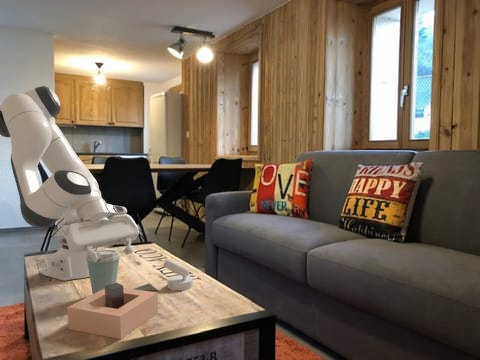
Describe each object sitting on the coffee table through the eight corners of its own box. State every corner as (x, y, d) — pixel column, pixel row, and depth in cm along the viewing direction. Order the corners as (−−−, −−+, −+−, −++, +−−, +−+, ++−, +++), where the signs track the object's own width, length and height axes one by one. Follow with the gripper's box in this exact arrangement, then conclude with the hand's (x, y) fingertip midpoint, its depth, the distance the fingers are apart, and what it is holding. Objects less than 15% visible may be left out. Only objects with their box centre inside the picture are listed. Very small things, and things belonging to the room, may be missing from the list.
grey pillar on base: (101, 320, 111) (100, 286, 110) (119, 314, 114) (117, 281, 114) (111, 326, 107) (110, 290, 106) (129, 320, 111) (127, 285, 110)
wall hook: (168, 255, 142) (195, 256, 140) (169, 281, 143) (195, 282, 141) (159, 262, 134) (187, 263, 132) (159, 289, 134) (187, 291, 132)
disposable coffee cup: (86, 292, 132) (84, 248, 130) (120, 288, 136) (118, 245, 135) (88, 304, 122) (86, 256, 121) (124, 298, 126) (122, 252, 125)
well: (68, 328, 106) (67, 307, 105) (110, 304, 122) (109, 285, 121) (121, 339, 100) (120, 316, 99) (157, 312, 116) (157, 292, 115)
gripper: (62, 215, 105) (81, 258, 99) (130, 206, 120) (149, 243, 114) (56, 229, 109) (73, 272, 103) (122, 219, 124) (141, 255, 118)
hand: (114, 256), depth 109 cm, fingers open, 8 cm apart
